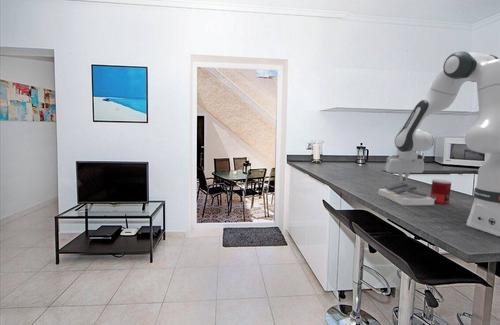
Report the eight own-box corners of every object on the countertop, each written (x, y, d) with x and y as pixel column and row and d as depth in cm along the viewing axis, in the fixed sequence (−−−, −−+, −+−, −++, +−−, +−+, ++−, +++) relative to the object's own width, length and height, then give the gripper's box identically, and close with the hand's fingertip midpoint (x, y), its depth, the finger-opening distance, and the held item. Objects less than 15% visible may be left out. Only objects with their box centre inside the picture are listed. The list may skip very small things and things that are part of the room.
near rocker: (426, 197, 141) (426, 194, 141) (408, 192, 139) (408, 190, 139) (419, 195, 145) (420, 192, 145) (402, 190, 144) (403, 188, 144)
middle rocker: (416, 189, 147) (416, 186, 147) (398, 193, 147) (398, 191, 146) (411, 187, 152) (410, 185, 152) (393, 191, 151) (393, 189, 151)
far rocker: (407, 186, 154) (407, 184, 154) (390, 190, 154) (390, 188, 153) (402, 184, 159) (402, 182, 158) (385, 188, 158) (385, 186, 158)
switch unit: (433, 205, 140) (434, 198, 139) (403, 205, 138) (403, 198, 138) (404, 194, 162) (405, 188, 161) (378, 194, 160) (378, 188, 159)
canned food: (448, 205, 140) (451, 183, 139) (429, 202, 145) (431, 180, 144) (449, 202, 146) (451, 180, 145) (430, 199, 151) (433, 178, 150)
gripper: (391, 155, 150) (388, 181, 152) (427, 156, 152) (424, 182, 154) (384, 154, 156) (381, 179, 158) (419, 155, 159) (416, 179, 160)
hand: (403, 180), depth 156 cm, fingers closed
